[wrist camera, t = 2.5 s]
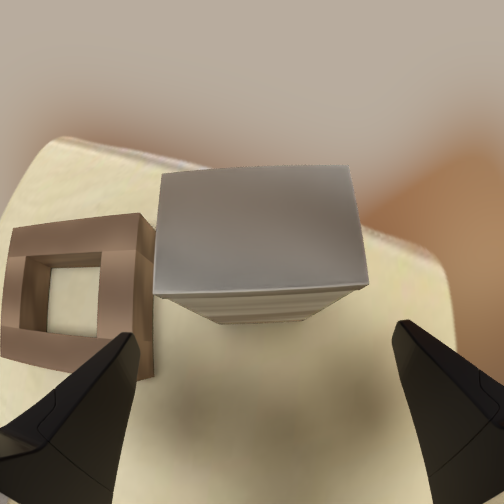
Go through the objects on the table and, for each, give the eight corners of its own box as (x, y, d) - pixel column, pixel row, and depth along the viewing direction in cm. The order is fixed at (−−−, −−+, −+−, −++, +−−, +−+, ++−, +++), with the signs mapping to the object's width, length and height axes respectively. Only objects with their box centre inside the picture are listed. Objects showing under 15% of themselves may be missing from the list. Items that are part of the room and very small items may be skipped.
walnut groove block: (153, 376, 18) (133, 382, 15) (27, 358, 18) (0, 356, 15) (156, 232, 21) (139, 212, 18) (36, 241, 22) (13, 228, 18)
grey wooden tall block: (303, 321, 19) (369, 284, 7) (219, 325, 19) (152, 293, 7) (299, 268, 20) (348, 165, 8) (218, 272, 20) (162, 173, 8)
